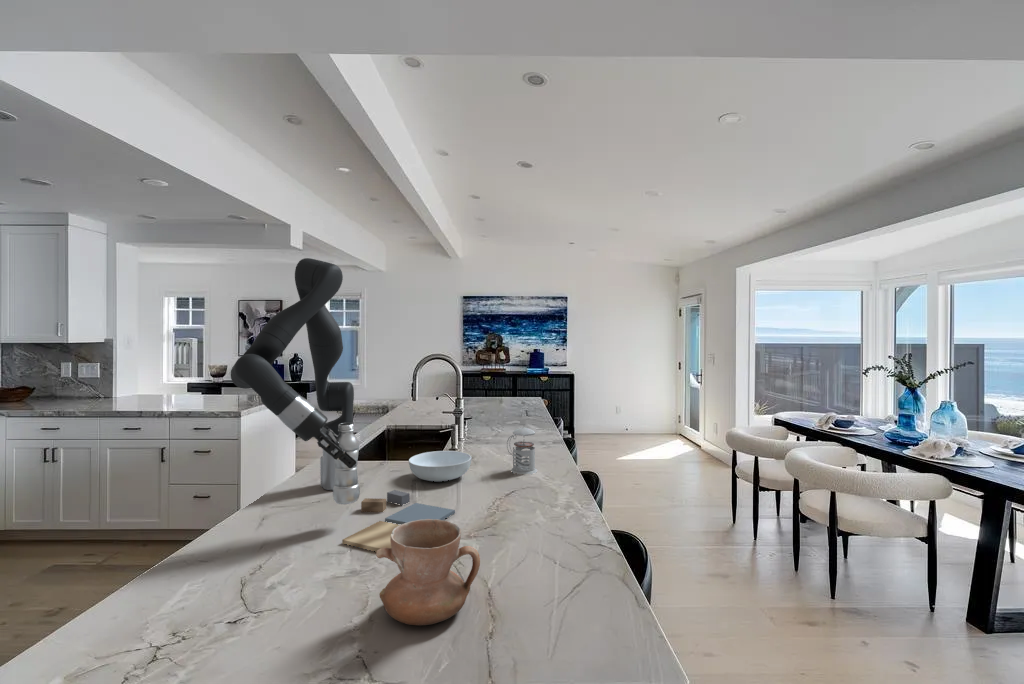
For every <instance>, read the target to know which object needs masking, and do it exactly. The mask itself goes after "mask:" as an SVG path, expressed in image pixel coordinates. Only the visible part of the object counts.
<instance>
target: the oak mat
mask: <svg viewBox="0 0 1024 684" xmlns="http://www.w3.org/2000/svg"><path fill="white" fill-rule="evenodd" d="M397 526H399V525H398V524H393V523H388V522H385V521H383V520H382V521H381V520H379V521H377V522H374V523H372V524H371V525H368V526H367V527H365V528H363V529H360V530H359V531H357V532H355V533H353V534H350V535H349V536H347V537H345V538H343V539H342V540H341V544H342V545H344V544H347V545H346V546H349V545H351V546H350V547H353V546H356V547H355V548H357V547H360V548H359V549H361V548H363V549H362V550H365V549H367V550H366V551H369V550H371V552H374V551H375V552H374V553H377V550H379V549H381V548H392V547H391V540H390V537H391V534H392V531H393V529H395V528H396V527H397Z"/></svg>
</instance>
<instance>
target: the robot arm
mask: <svg viewBox="0 0 1024 684" xmlns="http://www.w3.org/2000/svg"><path fill="white" fill-rule="evenodd" d="M343 277H344V275H343V271H342V269H341V267H339V265H338V264H337V265H336V264H334V263H331V262H327V261H324V260H319V259H315V258H310V257H309V258H308V257H304V258H302V259H300V260H299V261H298V262H297V264H296V267H295V269H294V282H295V287H296V291H297V294H298V298H299V301H297V302H295V303H293V304H291V305H289V306H287V307H286V308H284V309H282V310H280V311H279V312H277V313H276V314H274V315H273V316H272V317H271V318H269V320H268V321H267V323H265V325H264V326H263V328H262V329H261V330H260V332H259V333H258V334H257V335H256V337H255V339H254V340H253V342H252V344H251V345H250V346H249V347H248V348H247V350H246V351H245V352H244V353H243V354H242V355H241V356H240V357H239V358H238V359H237V360H236V361H235V363H234V364H233V366H232V368H231V369H230V379H231V381H232V383H233V384H234V385H235V386H236V387H237V388H240V389H252V390H253V391H254V392H255V393H256V394H257V395H258V396H259V397H260V401H261V403H262V404H263V405H264V407H266V408H267V409H268V410H270V412H271V413H273V415H275V416H276V417H278V419H279V420H280V421H281V422H282V423H283V425H285V426H286V427H287V428H289V429H290V431H292V432H294V434H296V435H297V436H298V438H300V439H301V440H302V441H304V442H308V441H309V440H311V439H312V438H314V439H316V441H317V442H316V443H317V446H318V448H319V447H320V448H321V449H322V456H320V459H319V462H320V463H319V464H320V466H319V467H320V469H319V471H320V487H321V488H322V489H324V490H326V491H333V488H334V483H335V460H334V459H336V460H337V459H338V460H340V461H342V462H343V463H344V464H345V465H346V466H347V467H349V468H352V467H353V466H354V465H355V464H356V460H355V459H353V458H352V457H351V456H350V455H349V454H348V453H347V452H346V451H345V450H344V449H342V448H341V447H340V442H339V441H338V440H337V439H336V438H337V436H338V435H339V432H338V430H339V424H341V423H353V424H354V404H355V403H354V401H355V400H354V398H355V397H354V396H355V392H354V391H355V389H354V385H353V383H352V382H349V381H331V382H329V380H328V377H329V375H330V373H331V372H332V369H333V368H334V367H335V366H336V364H337V363H338V361H339V360H340V358H341V356H342V354H343V351H344V344H343V336H342V330H341V328H340V325H339V324H338V322H337V321H336V319H335V317H334V316H333V315H332V314H331V312H330V311H329V309H328V308H327V306H326V304H328V303H329V301H330V300H332V298H333V297H335V295H336V294H337V293H338V292H339V290H340V288H341V287H342V283H343V280H344V279H343ZM304 325H306V330H307V339H308V347H309V351H310V355H311V359H312V364H313V365H312V366H313V371H314V382H315V393H316V395H315V396H316V402H317V406H318V408H319V409H318V408H317V407H316V406H315V405H313V403H311V402H310V401H309V400H308V399H306V398H305V397H304V396H303V395H302V396H301V394H299V393H298V392H297V391H296V390H294V388H292V387H291V386H290V385H289V384H287V383H286V382H285V380H284V379H283V378H282V376H281V375H280V374H279V373H278V371H276V369H275V367H274V366H273V364H274V362H275V361H276V360H277V358H279V356H280V355H282V353H283V352H284V351H285V350H286V349H287V347H288V346H289V344H290V343H291V342H292V341H293V339H294V337H295V336H296V335H297V334H298V332H299V331H300V330H302V328H303V327H304ZM320 410H321V411H320ZM323 412H341V415H340V416H339V417H337V418H335V419H333V420H330V421H328V419H329V418H328V417H327V416H326V415H325V414H324V413H323ZM336 449H337V450H338V452H337V453H335V450H336Z"/></svg>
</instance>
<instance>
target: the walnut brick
mask: <svg viewBox="0 0 1024 684" xmlns="http://www.w3.org/2000/svg"><path fill="white" fill-rule="evenodd" d="M360 504H361V505H360V508H361V509H360V511H361V513H378V512H383V511H384V510H385V509H386V510H387V498H373V497H372V498H369V497H368V498H363V500H362V501H361V503H360ZM386 510H385V511H386ZM385 511H384V512H385ZM384 512H383V513H384Z"/></svg>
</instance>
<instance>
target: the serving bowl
mask: <svg viewBox="0 0 1024 684" xmlns="http://www.w3.org/2000/svg"><path fill="white" fill-rule="evenodd" d="M471 464H472V456H471V455H470V454H469V453H467V452H464V451H463V452H462V451H459V450H458V451H456V450H436V451H426V452H422V453H419V454H415V455H413V456H411V457H410V458H409V459H408V465H409V469H410V471H411V472H412V474H413V475H414V476H415V477H417V478H418V479H420V480H424V481H427V482H428V481H429V482H433V481H434V482H435V483H442V481H444V482H449V481H452V480H455V479H458V478H460V477H462V476H463V475H465V474H466V473H467V472H468V470H469V469H470V467H471ZM448 480H449V481H448Z"/></svg>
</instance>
